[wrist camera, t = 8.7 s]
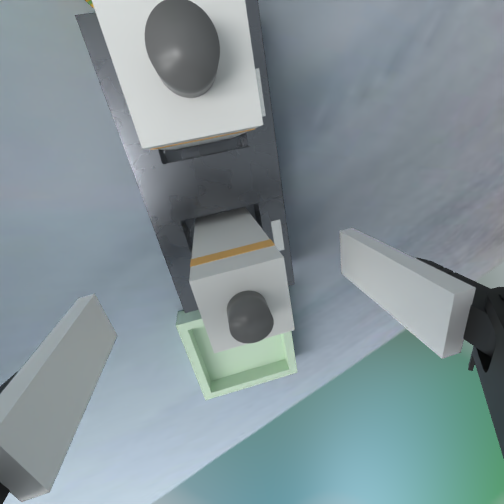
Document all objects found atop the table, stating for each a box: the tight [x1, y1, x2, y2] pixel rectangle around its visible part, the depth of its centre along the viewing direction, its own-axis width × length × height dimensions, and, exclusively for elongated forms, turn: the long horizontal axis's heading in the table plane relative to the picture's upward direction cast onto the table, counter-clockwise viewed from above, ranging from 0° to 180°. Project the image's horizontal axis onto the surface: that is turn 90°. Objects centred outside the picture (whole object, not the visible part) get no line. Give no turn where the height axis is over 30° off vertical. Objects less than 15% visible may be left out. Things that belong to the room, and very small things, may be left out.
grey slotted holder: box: [75, 0, 294, 313], centre depth 17 cm, size 9×18×4 cm, turn 11°
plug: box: [189, 207, 295, 353], centre depth 15 cm, size 4×4×11 cm
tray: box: [176, 310, 297, 400], centre depth 24 cm, size 10×10×2 cm
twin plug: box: [92, 0, 263, 150], centre depth 11 cm, size 4×4×11 cm
